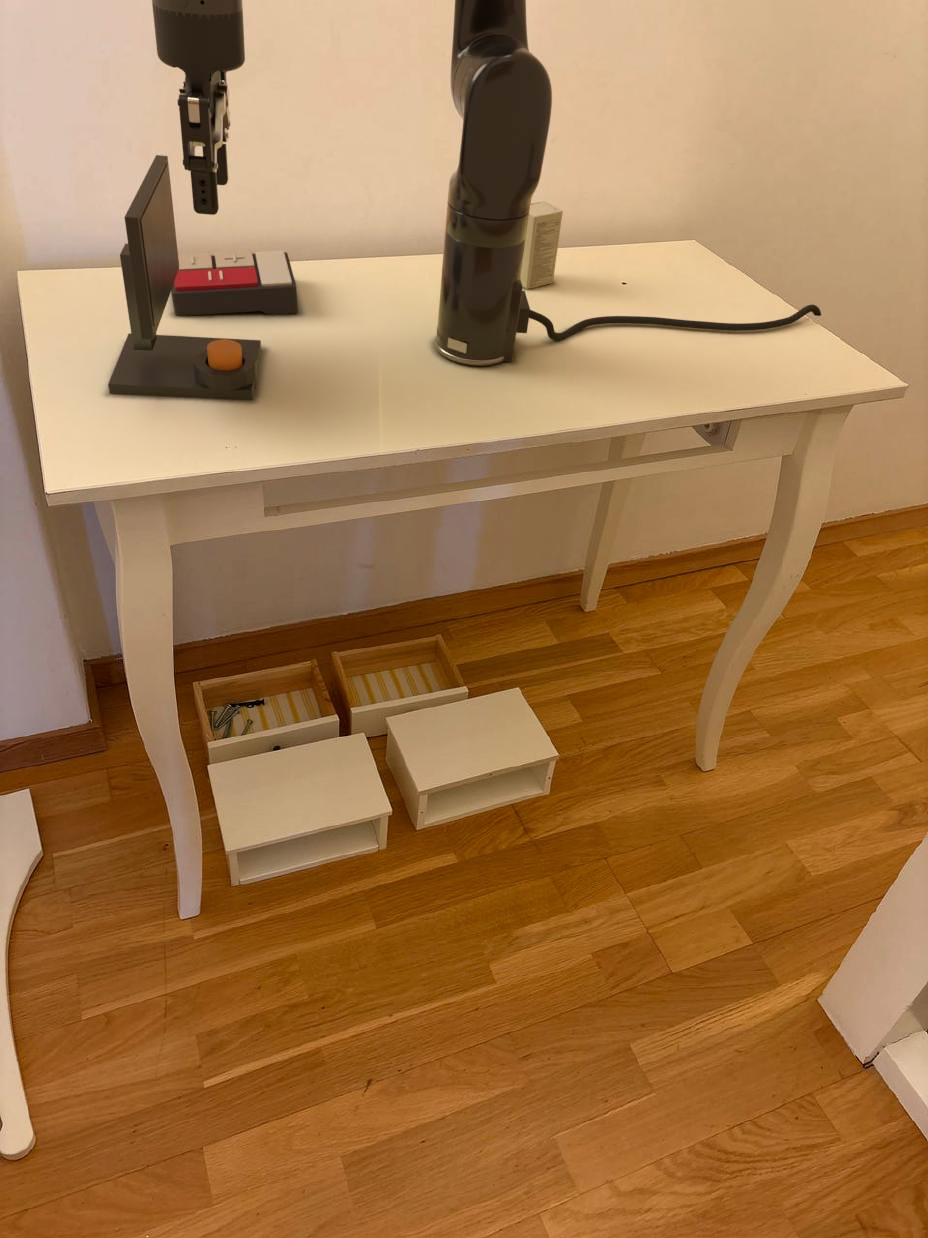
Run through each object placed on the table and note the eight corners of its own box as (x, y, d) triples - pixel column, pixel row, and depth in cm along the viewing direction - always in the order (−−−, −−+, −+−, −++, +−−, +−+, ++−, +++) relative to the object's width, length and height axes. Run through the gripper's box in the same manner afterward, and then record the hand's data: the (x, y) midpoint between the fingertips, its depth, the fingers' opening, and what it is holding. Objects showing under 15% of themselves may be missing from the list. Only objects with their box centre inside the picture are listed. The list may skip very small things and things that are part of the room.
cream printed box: (534, 272, 138) (545, 200, 131) (553, 283, 135) (565, 211, 129) (506, 277, 135) (515, 204, 129) (525, 289, 133) (535, 215, 126)
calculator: (168, 251, 122) (286, 245, 125) (173, 283, 125) (289, 277, 128) (170, 287, 114) (296, 280, 117) (175, 321, 117) (298, 313, 120)
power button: (243, 357, 106) (242, 339, 104) (240, 372, 103) (239, 355, 102) (210, 355, 105) (209, 338, 104) (206, 371, 102) (204, 353, 101)
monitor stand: (156, 337, 106) (144, 244, 99) (152, 350, 104) (139, 255, 97) (138, 336, 106) (125, 243, 99) (133, 349, 104) (119, 254, 97)
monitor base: (263, 349, 113) (262, 325, 111) (254, 401, 104) (253, 376, 102) (129, 342, 111) (126, 318, 109) (109, 395, 102) (104, 369, 100)
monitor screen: (180, 267, 109) (168, 155, 101) (154, 340, 95) (138, 217, 87) (162, 266, 108) (149, 154, 100) (134, 339, 95) (116, 216, 87)
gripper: (233, 22, 77) (244, 227, 88) (249, -11, 87) (257, 176, 98) (137, 12, 76) (160, 221, 87) (165, -20, 86) (182, 170, 97)
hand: (211, 197), depth 92 cm, fingers open, 8 cm apart
